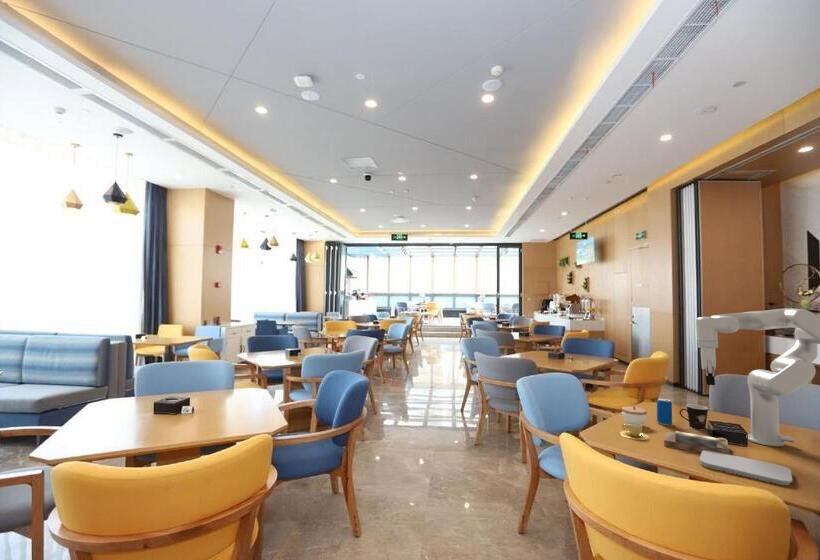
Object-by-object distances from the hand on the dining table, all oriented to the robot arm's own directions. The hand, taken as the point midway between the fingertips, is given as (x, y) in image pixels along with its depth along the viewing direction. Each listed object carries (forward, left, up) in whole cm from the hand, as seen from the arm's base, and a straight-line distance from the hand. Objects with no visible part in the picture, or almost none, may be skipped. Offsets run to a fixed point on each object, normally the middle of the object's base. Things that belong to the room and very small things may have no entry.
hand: (710, 384), depth 183 cm
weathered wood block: (+6, +17, -24) cm, 30 cm away
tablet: (-9, +33, -25) cm, 42 cm away
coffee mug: (+7, -15, -25) cm, 30 cm away
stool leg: (+4, +20, -22) cm, 29 cm away
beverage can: (+19, -12, -25) cm, 33 cm away
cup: (+29, +17, -25) cm, 41 cm away
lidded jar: (+31, 0, -25) cm, 39 cm away
